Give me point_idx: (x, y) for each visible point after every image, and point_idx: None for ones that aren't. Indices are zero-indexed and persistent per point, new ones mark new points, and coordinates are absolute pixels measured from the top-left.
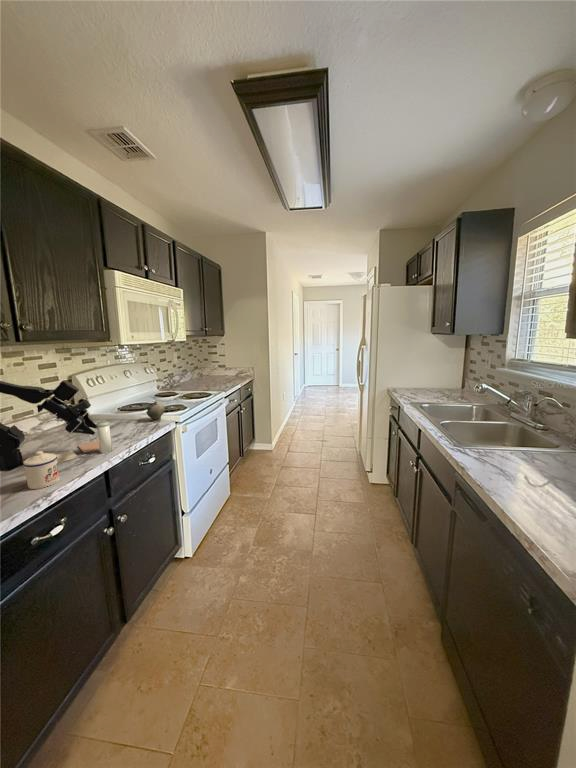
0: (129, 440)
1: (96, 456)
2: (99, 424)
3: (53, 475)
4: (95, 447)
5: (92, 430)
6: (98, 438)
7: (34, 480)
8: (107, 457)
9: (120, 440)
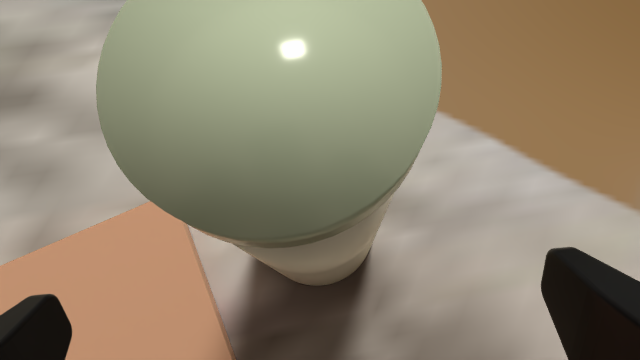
0: (88, 58)
1: (441, 299)
2: (394, 126)
3: None
4: (177, 357)
5: (633, 291)
6: (338, 264)
7: None
8: (509, 186)
9: (36, 139)
